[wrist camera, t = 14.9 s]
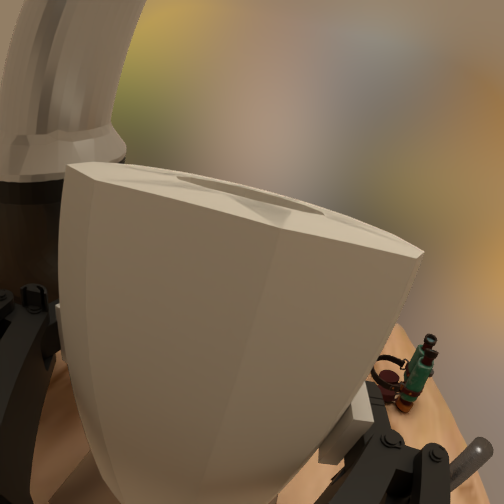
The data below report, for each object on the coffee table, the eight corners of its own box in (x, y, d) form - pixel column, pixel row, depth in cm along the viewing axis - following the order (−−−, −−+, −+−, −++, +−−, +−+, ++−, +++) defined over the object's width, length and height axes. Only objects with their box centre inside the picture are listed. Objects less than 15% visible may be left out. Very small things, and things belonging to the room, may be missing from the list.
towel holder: (316, 583, 7) (435, 547, 3) (326, 469, 20) (395, 384, 17) (442, 558, 5) (547, 489, 2) (426, 471, 19) (496, 394, 15)
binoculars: (389, 317, 38) (444, 335, 33) (367, 372, 40) (417, 389, 35) (382, 339, 31) (448, 360, 26) (355, 400, 33) (414, 420, 28)
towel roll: (71, 480, 8) (-2, 160, 4) (147, 386, 17) (176, 169, 13) (253, 555, 6) (508, 304, 3) (279, 432, 16) (371, 222, 12)
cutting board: (52, 505, 8) (48, 501, 8) (135, 402, 24) (135, 395, 23) (251, 588, 7) (256, 588, 6) (281, 454, 22) (285, 449, 22)
